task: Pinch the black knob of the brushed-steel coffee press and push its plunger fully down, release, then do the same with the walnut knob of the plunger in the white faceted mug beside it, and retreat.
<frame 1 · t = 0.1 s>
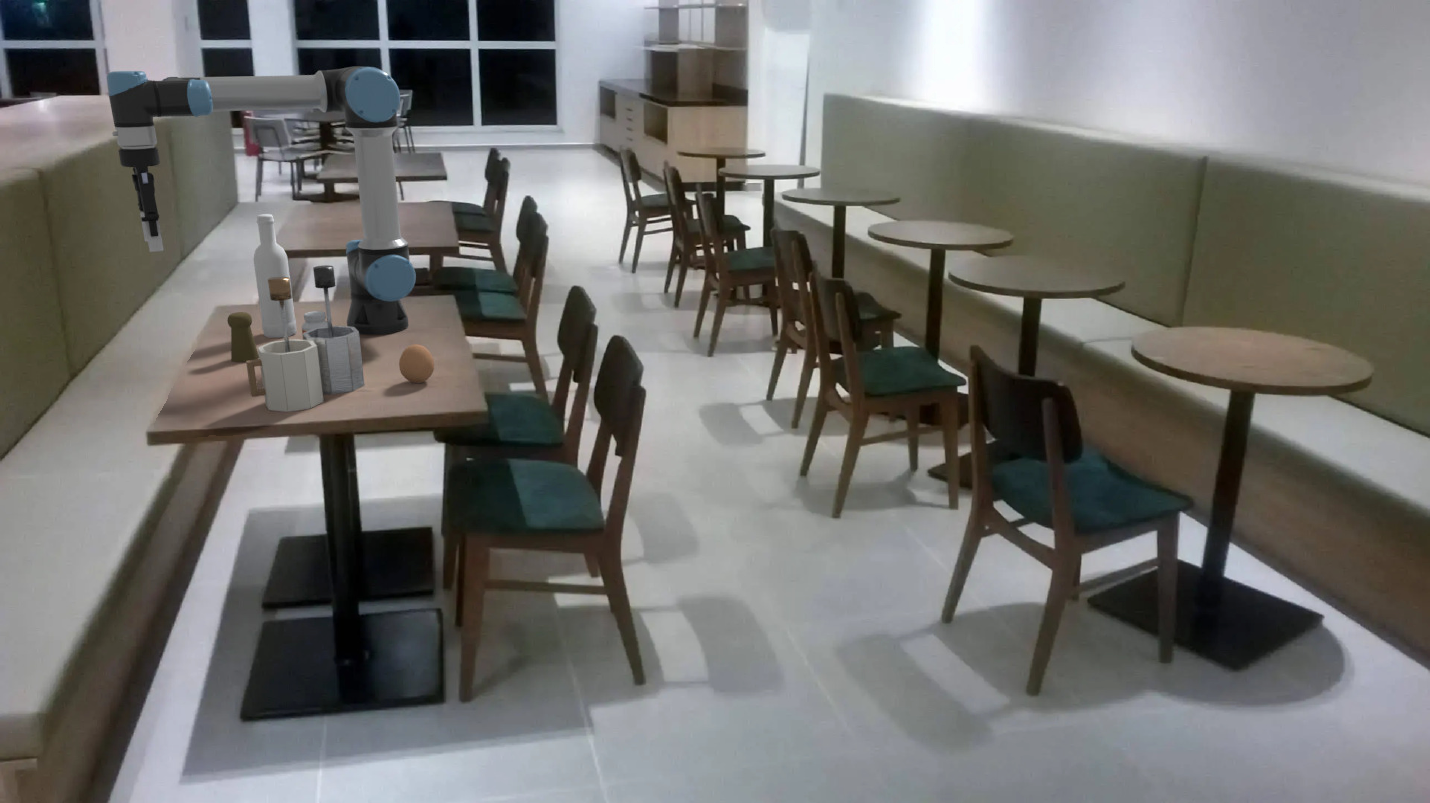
hand: (154, 246, 240), 28 cm above the table, fingers open, 13 cm apart
pill bottle: (319, 360, 257), on the table
plunger b: (284, 322, 221), point 17 cm above the table, slide at 0.0 cm
white faceted mug: (294, 402, 227), on the table
cork: (245, 359, 257), on the table
grey octagonal container: (336, 386, 237), on the table
plunger a: (328, 309, 232), point 17 cm above the table, slide at 0.0 cm
bottle: (280, 334, 278), on the table
egg: (418, 383, 240), on the table
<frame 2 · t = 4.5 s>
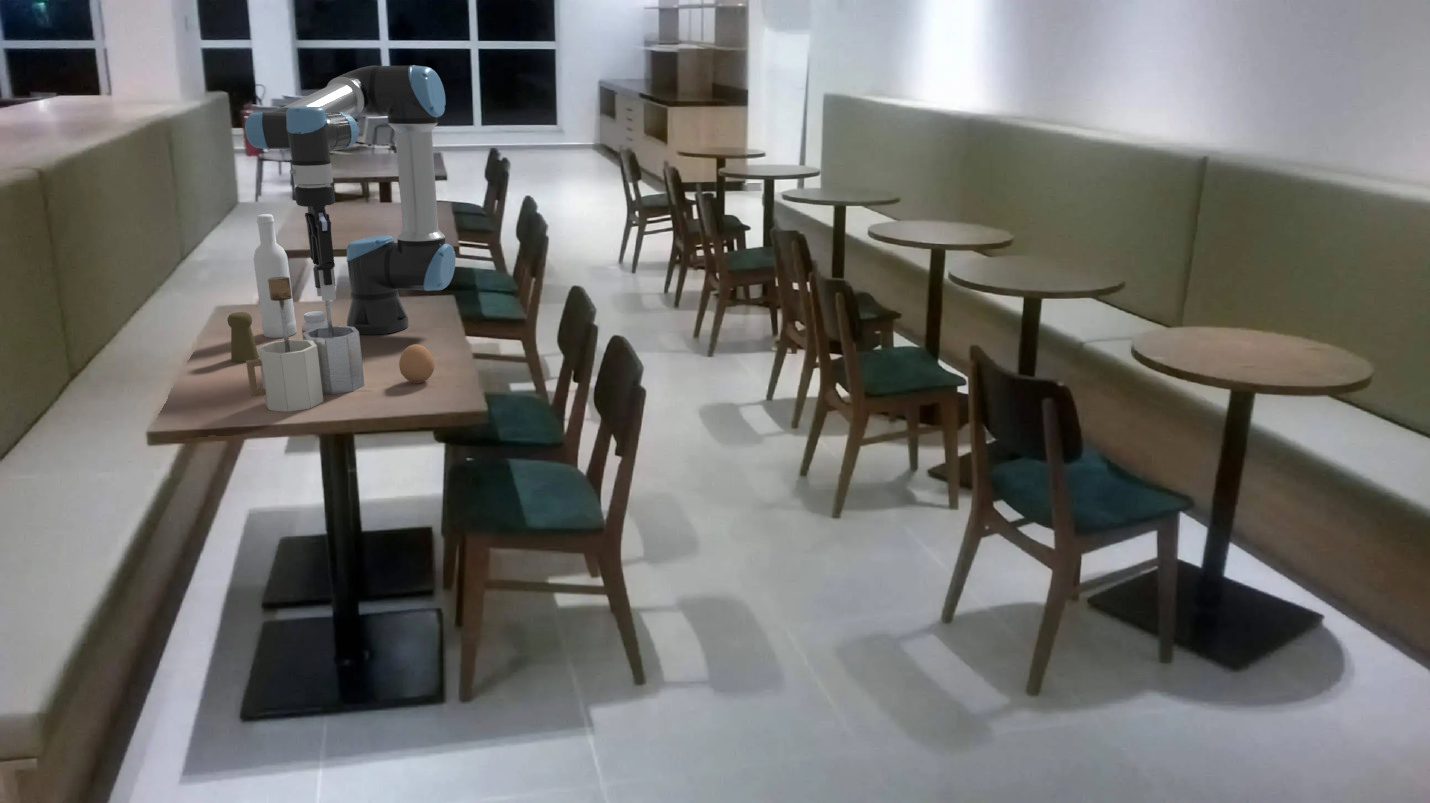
hand: (326, 297, 231), 20 cm above the table, fingers closed on plunger a, 4 cm apart
plunger a: (328, 309, 232), point 17 cm above the table, slide at 0.0 cm, touching gripper
everything else where it was.
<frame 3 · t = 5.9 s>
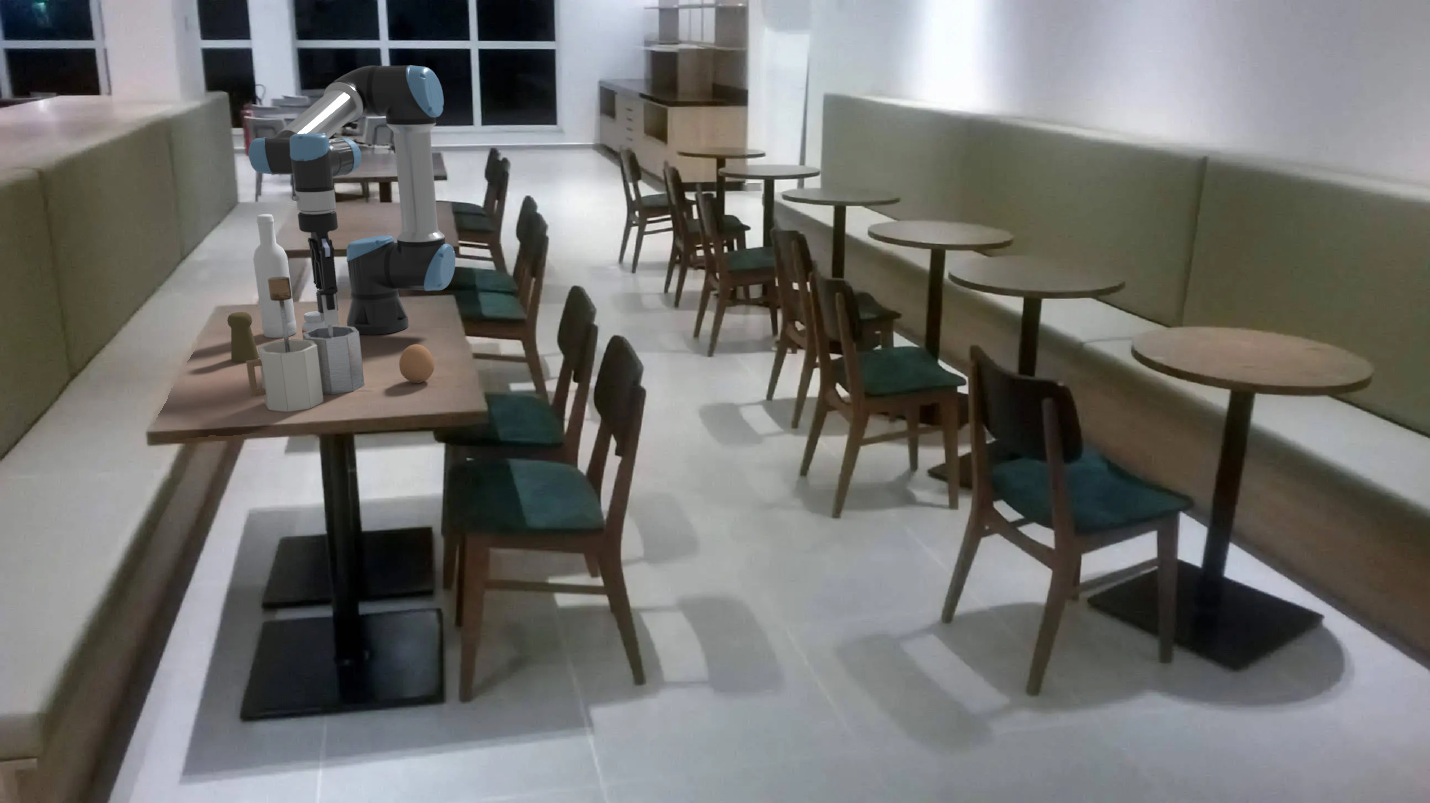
hand: (329, 321, 232), 14 cm above the table, fingers closed on plunger a, 4 cm apart
plunger a: (330, 333, 233), point 12 cm above the table, slide at 5.3 cm, touching gripper
everything else where it was.
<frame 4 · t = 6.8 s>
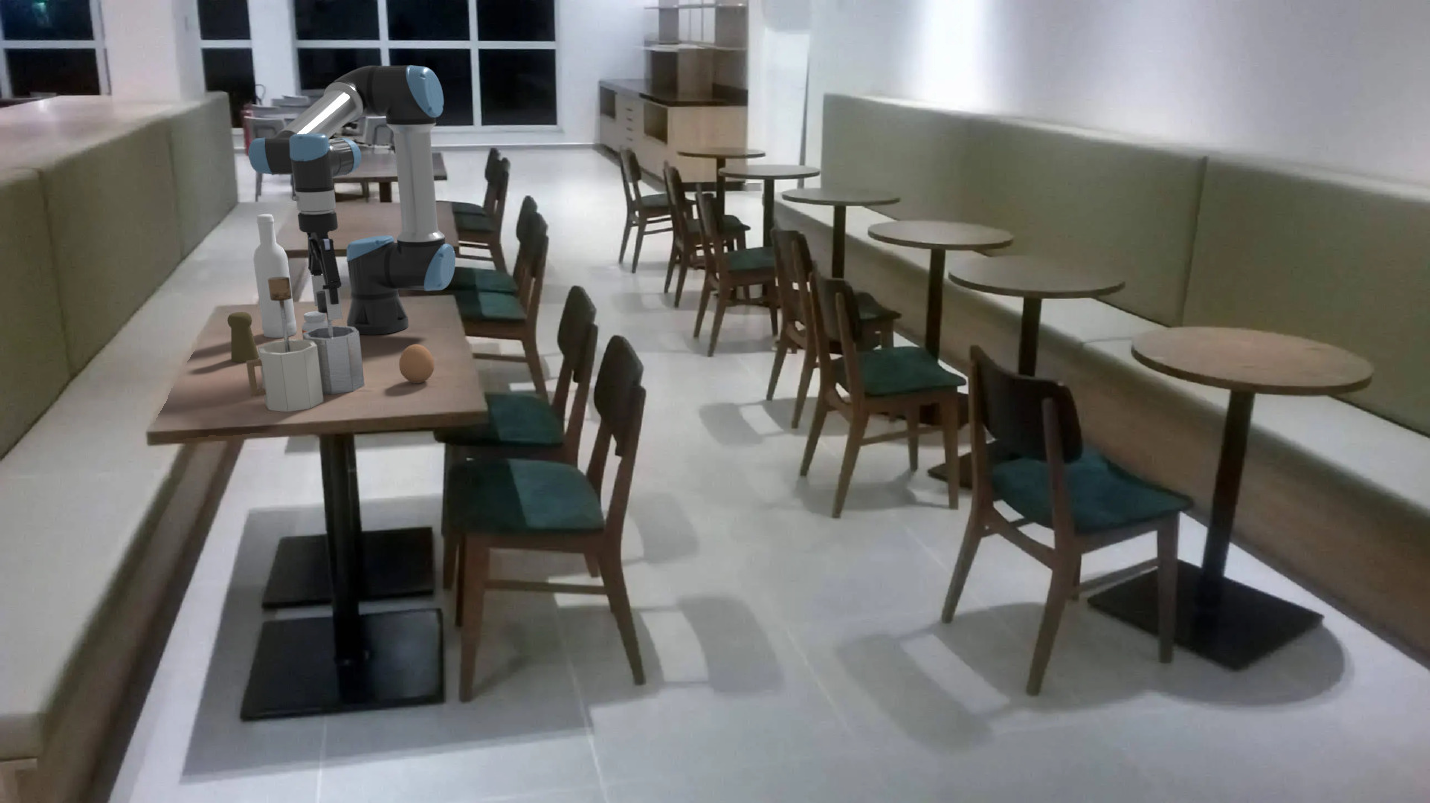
hand: (328, 312, 232), 16 cm above the table, fingers open, 13 cm apart
plunger a: (330, 333, 233), point 12 cm above the table, slide at 5.3 cm
everything else where it was.
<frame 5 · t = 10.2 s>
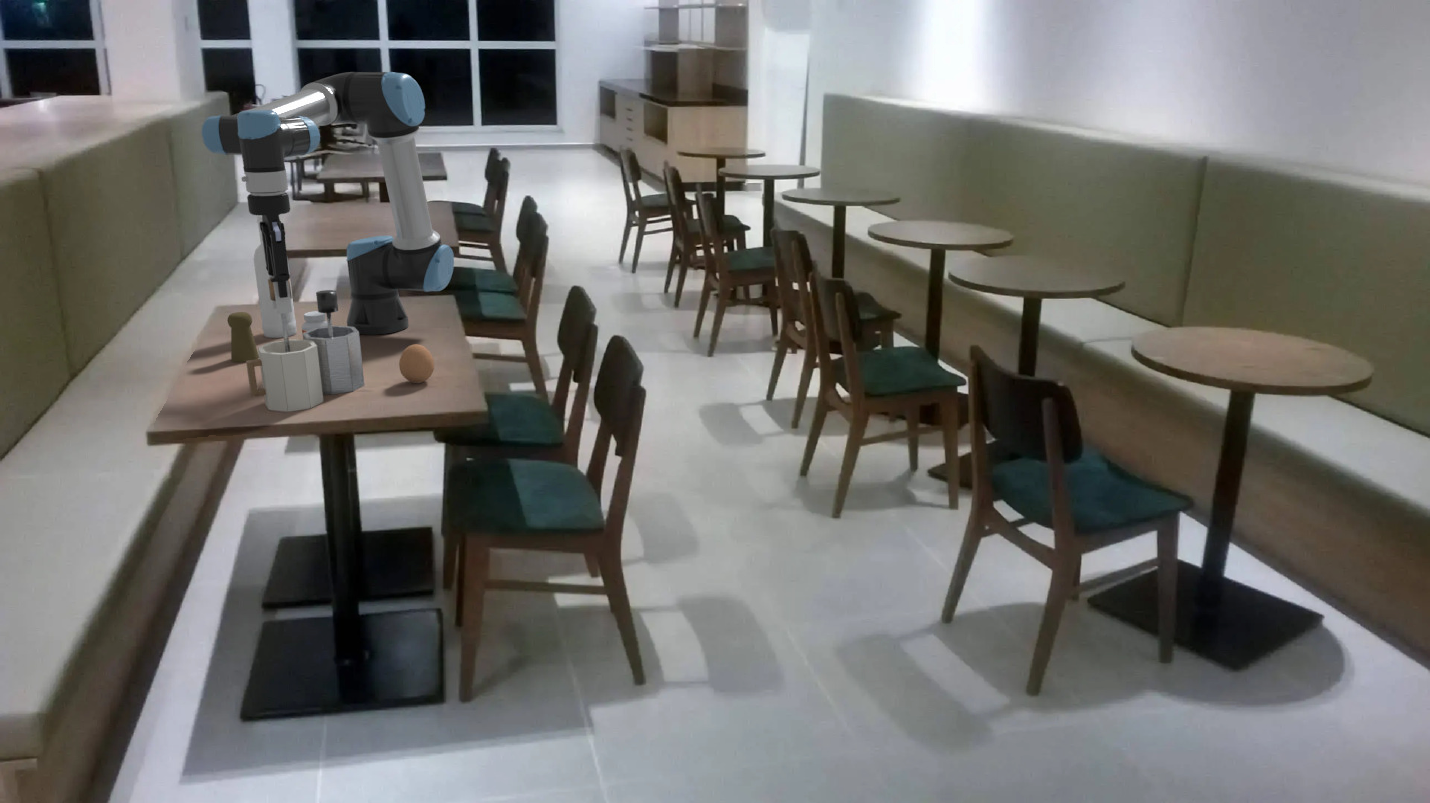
hand: (282, 310, 220), 20 cm above the table, fingers closed on plunger b, 4 cm apart
plunger b: (284, 322, 221), point 17 cm above the table, slide at 0.0 cm, touching gripper
everything else where it was.
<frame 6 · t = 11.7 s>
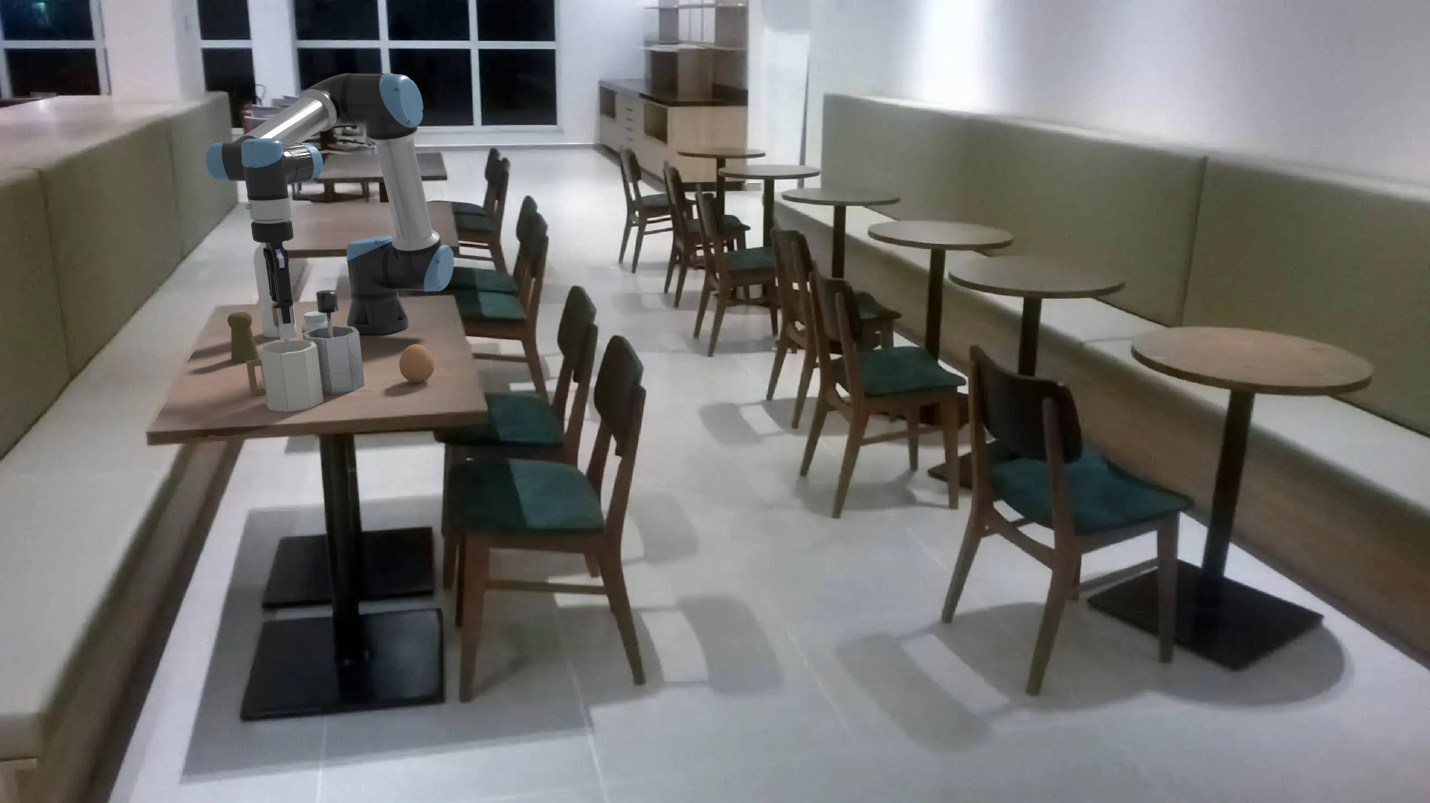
hand: (285, 335, 222), 14 cm above the table, fingers closed on plunger b, 4 cm apart
plunger b: (287, 347, 223), point 12 cm above the table, slide at 5.3 cm, touching gripper
everything else where it was.
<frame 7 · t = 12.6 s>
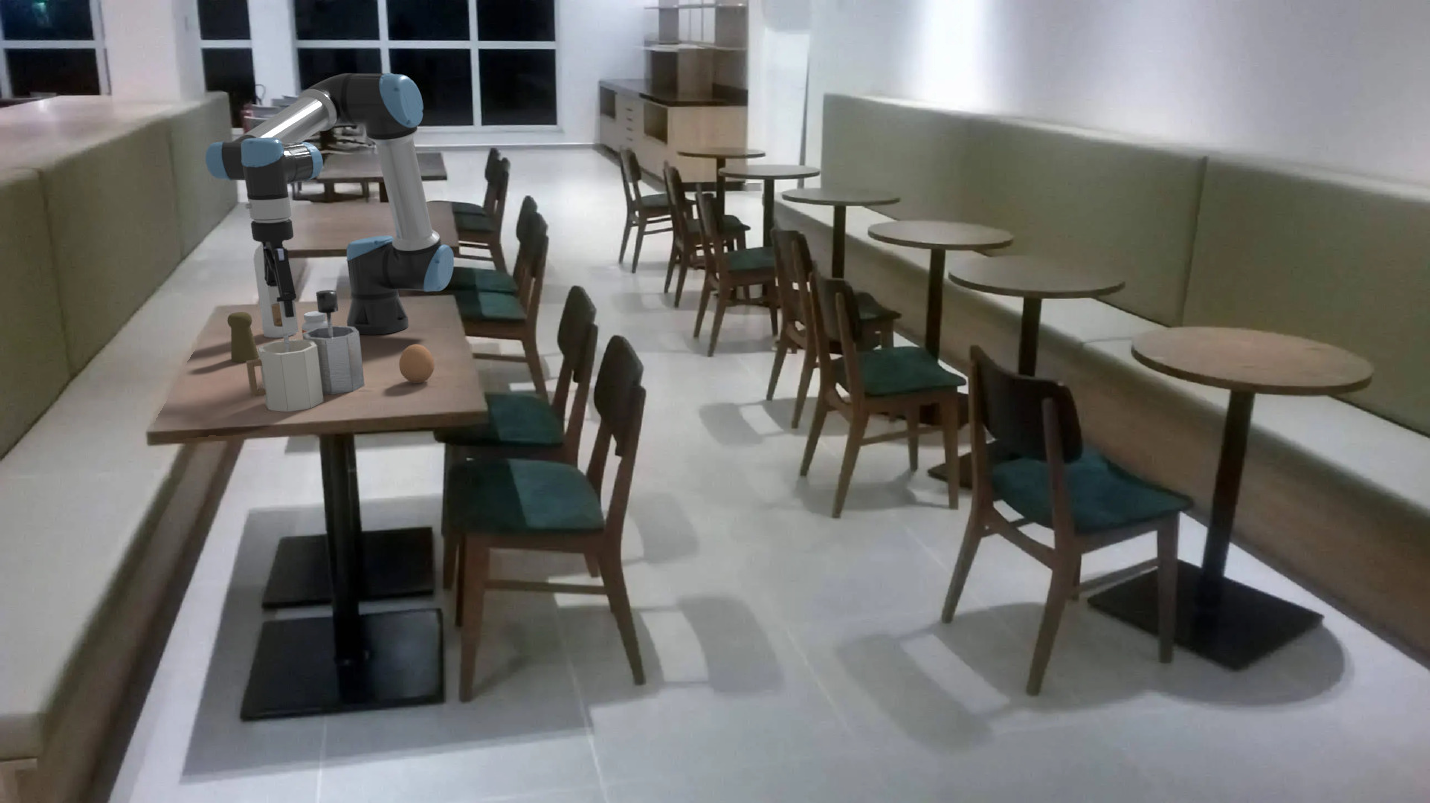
hand: (284, 324, 221), 17 cm above the table, fingers open, 13 cm apart
plunger b: (287, 347, 223), point 12 cm above the table, slide at 5.3 cm
everything else where it was.
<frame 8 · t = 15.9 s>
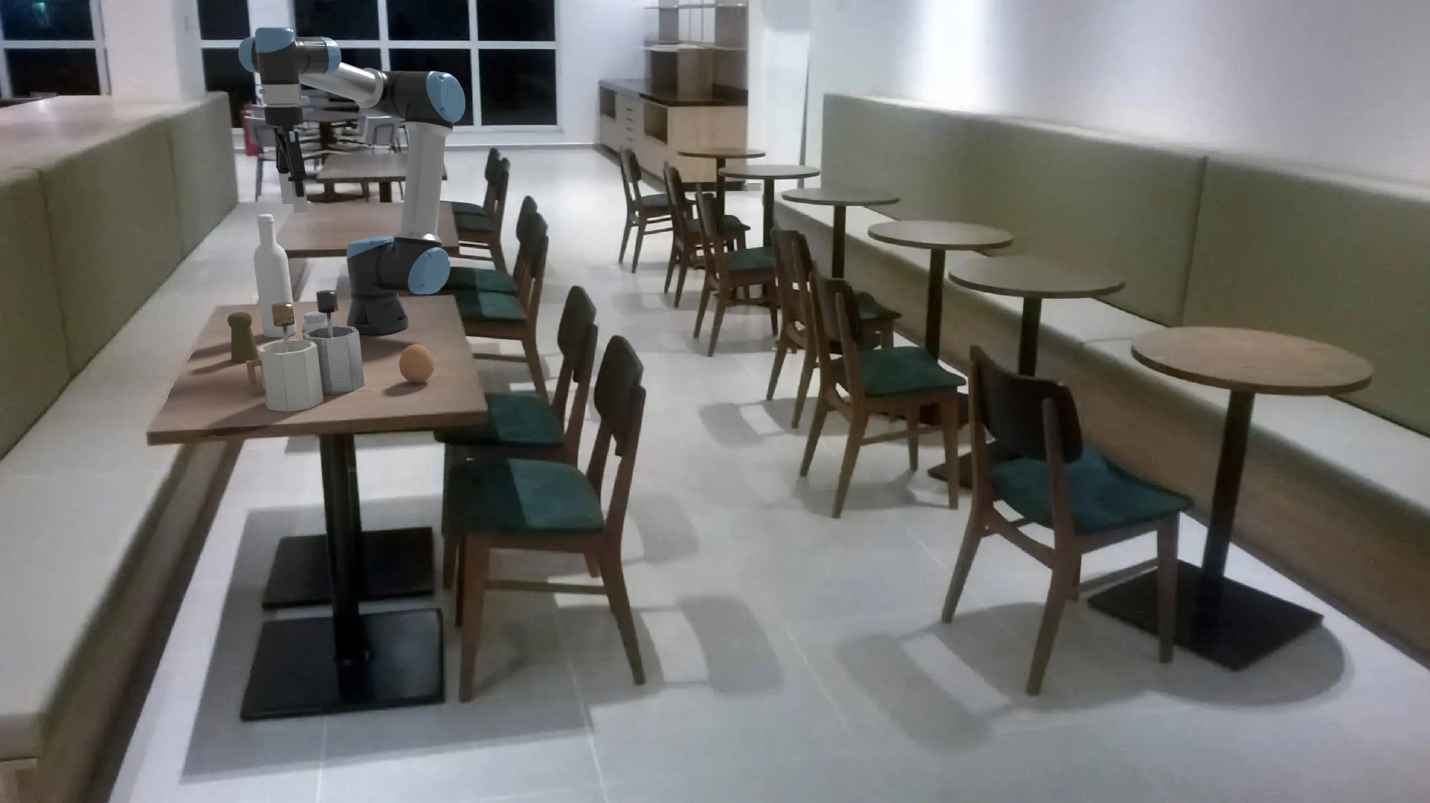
hand: (295, 208, 235), 37 cm above the table, fingers open, 13 cm apart
nothing on the table moved.
at the end: plunger a slide at 5.3 cm; plunger b slide at 5.3 cm; the gripper is holding nothing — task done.
